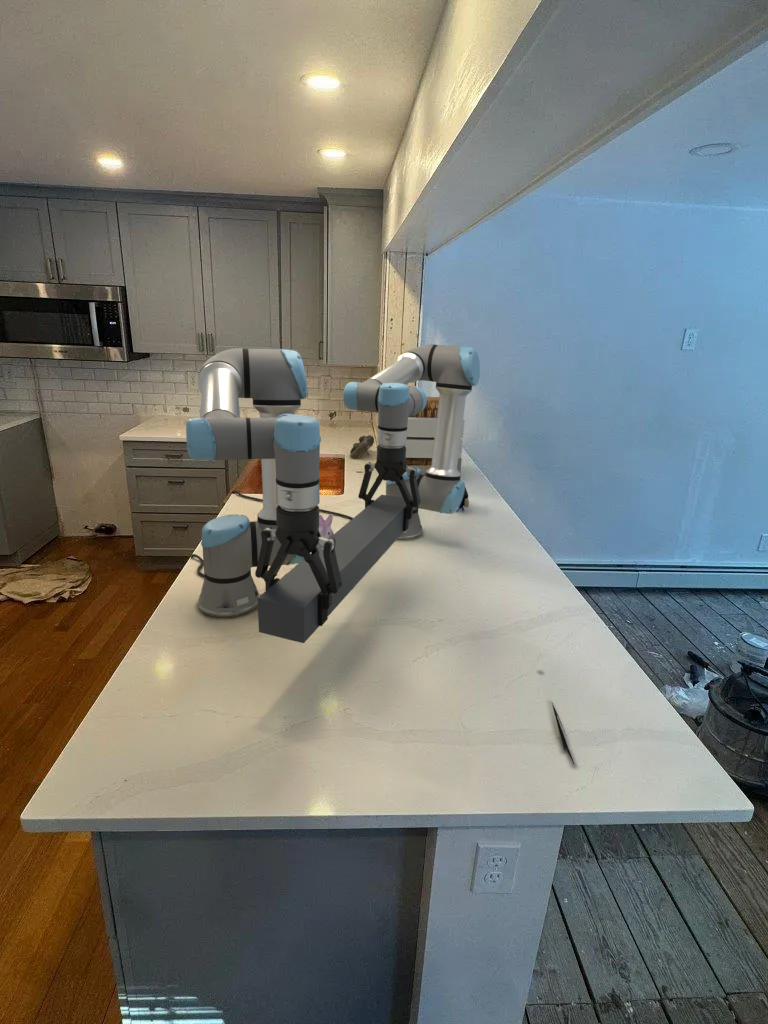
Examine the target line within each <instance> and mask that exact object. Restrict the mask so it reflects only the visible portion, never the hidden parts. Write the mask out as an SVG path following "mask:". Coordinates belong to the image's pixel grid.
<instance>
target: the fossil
mask: <svg viewBox="0 0 768 1024" xmlns="http://www.w3.org/2000/svg"><path fill="white" fill-rule="evenodd" d="M358 441H359V442H355V443H353V444H352V447H351V449H350V452H349V453H350V454H349V457H350V458H351V459H357V458H360V457H361V456H362V455H364V454H365V453H366V454H367V455H368V456H370V453H369V452H368V451H369V450H370V449H371V447H373V445H374V443H375V438H374V436H373V435H371V434H368V435H367V436H366V435H362V436H359V438H358Z"/></svg>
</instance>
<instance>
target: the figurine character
mask: <svg viewBox="0 0 768 1024" xmlns="http://www.w3.org/2000/svg"><path fill="white" fill-rule="evenodd" d="M469 505H470V500H469V492H468V490H467V488H466V486H465V491H464V495H463V498H462V501H461V504H460V506H459V508H458V509H461V511H462V512H464V511H465V508H469ZM458 509H457V510H456V512H457V511H458Z"/></svg>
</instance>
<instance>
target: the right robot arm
mask: <svg viewBox="0 0 768 1024" xmlns="http://www.w3.org/2000/svg"><path fill="white" fill-rule="evenodd" d="M395 360H396V361H395V362H393V363H391V364H390V365H389V366H387V367H385V368H384V369H381V370H380V371H379V372H377V373H375V374H374V375H373V376H371V377H369V378H368V379H366V380H364V381H363V382H359V381H350V382H348V383H346V385H345V387H344V389H343V393H342V398H343V399H342V400H343V404H344V407H346V408H347V409H348V410H354V411H357V412H366V413H367V412H368V413H377V415H378V416H377V437H376V439H377V440H376V441H377V444H378V445H377V446H376V461H375V463H373V462H371V461H368V462H367V463H365V464H364V473H363V479H362V481H361V485H360V488H359V492H358V499H360V500H363V501H364V509H365V508H366V507H367V506H369V505H370V504H371V503H372V502H373V501H375V499H373V497H374V495H376V494H375V493H376V492H377V491H378V489H379V487H380V485H381V484H382V482H383V481H384V482H385V481H386V482H385V495H388V496H394V497H401V498H403V499H404V501H405V503H406V507H405V508H404V518H403V531H404V532H403V533H402V534H401V535H400V536H399V538H398V539H397V540H396V541H410V540H415V539H418V538H420V537H421V536H422V535H423V525H422V524H421V518H420V515H419V509H420V510H424V511H425V510H426V511H430V512H437V513H440V514H449V515H452V514H454V513H456V512H457V511H458V509H460V508H459V506H460V504H461V501H462V498H463V495H464V491H465V487H466V483H465V481H464V480H462V479H461V476H462V473H461V474H460V473H459V471H458V470H457V464H458V456H459V448H460V440H462V438H461V432H462V424H463V419H464V417H465V410H466V409H465V407H466V400H467V396H468V395H469V394H470V393H471V392H472V390H473V387H475V386H477V385H478V384H479V382H480V381H479V379H480V375H481V364H480V363H481V362H480V356H479V353H478V352H477V350H476V349H475V348H474V347H470V346H463V345H446V344H445V345H444V344H434V343H433V344H432V343H430V344H424V345H420V346H417V347H413V348H411V349H409V350H407V351H405V352H403V353H402V354H400V355H399V356H397V358H396V359H395ZM418 381H425V382H432V383H433V382H434V383H435V389H436V390H437V392H438V394H439V396H438V397H439V404H438V412H437V421H436V430H435V438H434V447H433V456H432V464H431V465H430V466H429V468H427V469H426V471H425V474H422V470H421V468H419V467H416V466H407V465H406V464H405V460H406V447H405V445H406V444H407V424H408V417H411V416H414V415H417V414H418V413H420V412H421V411H422V410H423V409H424V408H425V406H426V403H427V397H428V396H427V394H426V392H425V391H424V390H423V388H421V387H419V386H416V385H408V384H412V383H416V382H418ZM374 470H375V471H376V472H377V474H378V475H377V477H376V478H375V481H374V482H373V484H372V486H371V487H370V489H369V490H368V488H369V484H370V480H371V479H372V478H371V477H372V473H373V471H374ZM367 492H368V493H367ZM235 493H236V494H237V495H238V496H240V497H242V498H246V499H250V500H254V501H258V502H262V503H263V498H258V497H254V496H248V495H245V494H243V493H241V492H239V491H238V490H237V489H236V490H232V491H231V494H235ZM412 499H413V500H412ZM456 510H457V511H456ZM319 512H321V513H325V514H326V513H327V514H329V515H330V514H332V515H334V516H339V517H343V518H346V519H349V520H350V521H351V520H352V519H353V518H354V517H353V516H350V515H346V514H344V513H339V512H335V511H330V510H326V509H321V508H319ZM411 518H412V521H411V524H410V525H409V519H411ZM408 525H409V526H408Z"/></svg>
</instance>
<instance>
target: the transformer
mask: <svg viewBox="0 0 768 1024" xmlns="http://www.w3.org/2000/svg"><path fill="white" fill-rule="evenodd" d="M426 397H427V403H426V406H425V408H424V409H423V410H422V411H421V412H420V413H418V414H417V415H414V416H411V417H408V424H407V444H406V445H405V447H406V460H405V464H406V466H407V467H417V466H418V467H431V464H432V456H433V447H434V438H435V430H436V421H437V412H438V404H439V396H426ZM464 429H465V419H464V418H463V424H462V432H461V440H460V448H459V456H458V464H457V470H458V471H459V473H460V474H461V475H462V473H461V472H462V461H463V460H462V453H463V442H464V441H463V440H462V439H463V438H464V431H465V430H464Z"/></svg>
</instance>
